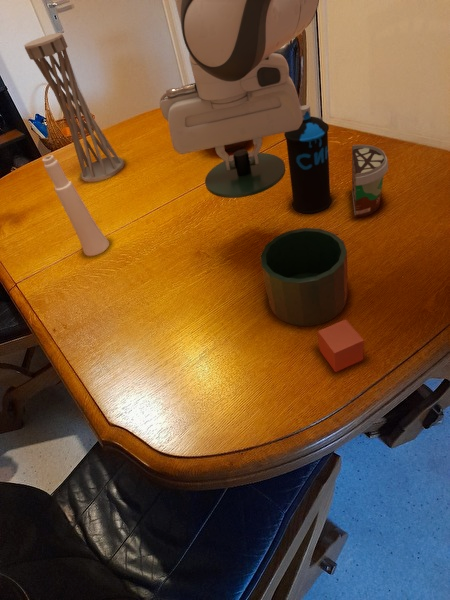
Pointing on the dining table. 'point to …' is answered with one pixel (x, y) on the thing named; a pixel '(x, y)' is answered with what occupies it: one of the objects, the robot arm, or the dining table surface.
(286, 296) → the tin
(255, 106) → the robot arm
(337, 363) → the block
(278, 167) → the lid
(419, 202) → the dining table surface
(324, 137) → the aerosol can
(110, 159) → the lattice tower
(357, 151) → the food container
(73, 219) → the cosmetic bottle
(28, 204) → the dining table surface
